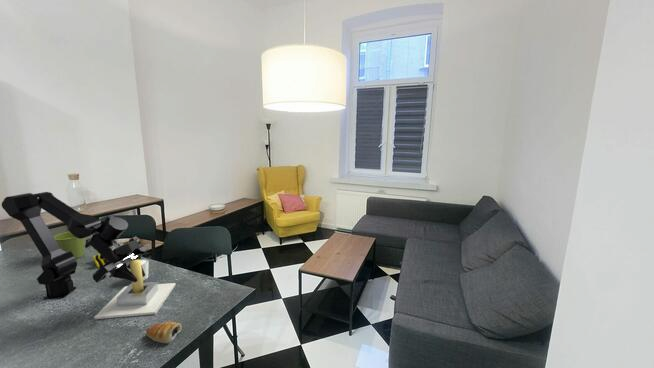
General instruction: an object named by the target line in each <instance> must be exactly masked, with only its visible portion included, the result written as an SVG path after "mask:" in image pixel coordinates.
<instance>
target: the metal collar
mask: <svg viewBox="0 0 654 368" xmlns="http://www.w3.org/2000/svg"><path fill="white" fill-rule="evenodd" d="M158 284H159V282H158V281H151V282H150V281H149V282H147V281H146V282H143V287H144V291H143V292H142V293H133V289H132V282H131V283H130V284H129V285H127V286H128V287H127V288H126V289H125V290H124V291H123V292H122V293H121V294H120V295H119V296H118V297H117V304H118V307H125V306H138V305H147V304H148V303H149V301H150V300H151V299H152V298H153V296H154V295H155V294H156V292H157V291H158Z"/></svg>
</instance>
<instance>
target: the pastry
mask: <svg viewBox="0 0 654 368" xmlns="http://www.w3.org/2000/svg"><path fill="white" fill-rule="evenodd" d="M182 328H183V327H182V324H181V323H180V322H175V321H167V322H158V323H155V324H153V325H151V326H150V327H149V328H146V331H145V335H146V336H147V337H148V338H149V339H151V340H152V341H153V342H156V343H160V344H161V343H162V344H170V343H171V342H173V341H174V340H175V338H176V337H177V336H178V335H179V334H180V333H181V331H182Z"/></svg>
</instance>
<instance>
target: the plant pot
mask: <svg viewBox="0 0 654 368" xmlns="http://www.w3.org/2000/svg"><path fill="white" fill-rule="evenodd" d="M53 237H54V238H55V240H56V242H57V243H58V245H59V247H60V248H61V250H63V251H65V252H69V251H71V252H72V253H73V255H74V257H75V258H76V259H79V258H81V257H83V256H84V255H85V244H86V238H81V239H79V238H77V237H75V236H74V235H73V234H72V233H71V232H69V231H66V232H61V233H59V234H56V235H53Z"/></svg>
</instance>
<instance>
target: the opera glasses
mask: <svg viewBox="0 0 654 368" xmlns="http://www.w3.org/2000/svg"><path fill="white" fill-rule="evenodd" d="M100 256H101V254H99V253H98V254H96V255H93V261H94V263H95V264H94V265H96V267H97V268H98V269H99V268H100V267H101V266H103V265H105V264H107V263H109V262H108V261H107V260H106V259H105V258H104V259H102V260H101V259H100V258H99V257H100Z"/></svg>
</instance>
